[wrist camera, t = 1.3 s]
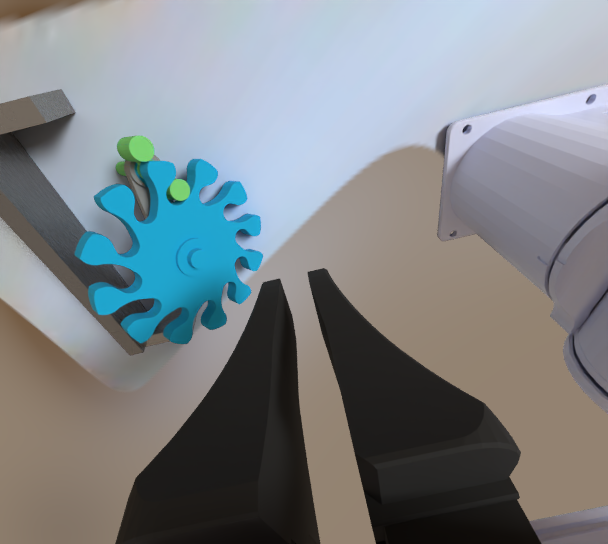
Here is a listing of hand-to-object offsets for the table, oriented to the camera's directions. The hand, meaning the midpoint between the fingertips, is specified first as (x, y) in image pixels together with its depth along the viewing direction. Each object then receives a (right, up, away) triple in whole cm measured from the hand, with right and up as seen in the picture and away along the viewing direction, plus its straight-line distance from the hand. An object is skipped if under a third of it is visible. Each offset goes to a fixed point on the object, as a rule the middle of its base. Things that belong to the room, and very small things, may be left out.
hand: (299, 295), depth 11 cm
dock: (-12, +3, +8) cm, 14 cm away
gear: (-7, +5, +8) cm, 11 cm away
